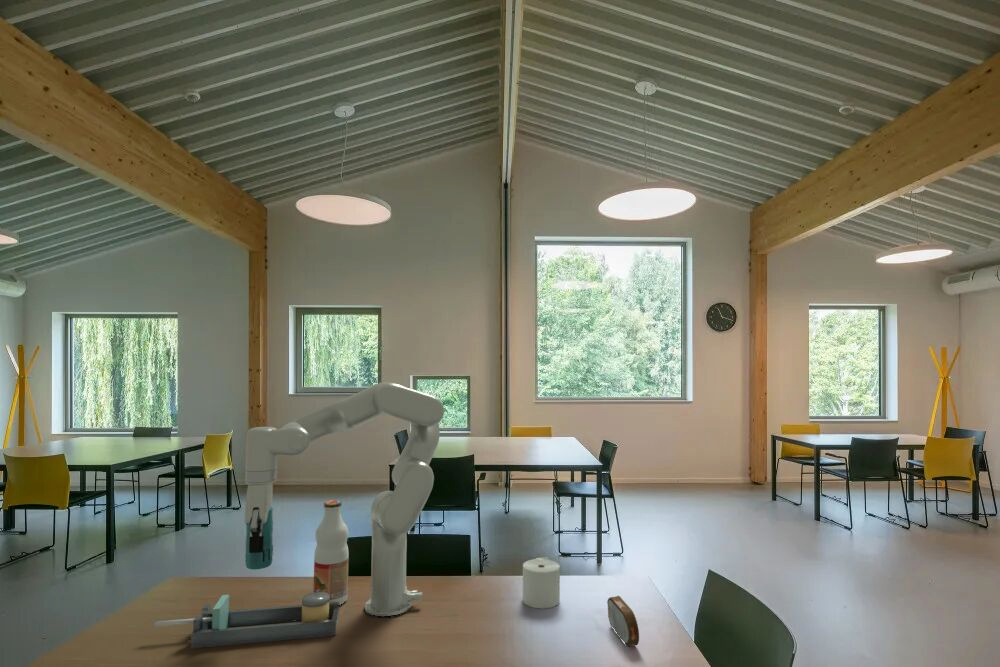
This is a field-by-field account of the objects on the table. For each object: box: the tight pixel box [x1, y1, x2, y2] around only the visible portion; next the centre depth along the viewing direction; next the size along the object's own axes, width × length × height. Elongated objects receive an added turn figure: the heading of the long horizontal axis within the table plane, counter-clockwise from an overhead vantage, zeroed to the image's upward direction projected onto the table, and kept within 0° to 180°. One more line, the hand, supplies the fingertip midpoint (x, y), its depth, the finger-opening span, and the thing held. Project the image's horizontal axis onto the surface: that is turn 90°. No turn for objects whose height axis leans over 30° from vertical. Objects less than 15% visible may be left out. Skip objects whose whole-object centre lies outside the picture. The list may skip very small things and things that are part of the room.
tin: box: [606, 595, 640, 647], centre depth 140 cm, size 15×3×8 cm, turn 9°
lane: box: [190, 602, 340, 649], centre depth 142 cm, size 33×11×6 cm, turn 102°
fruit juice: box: [312, 499, 349, 606], centre depth 160 cm, size 9×9×28 cm
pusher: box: [153, 594, 230, 629], centre depth 138 cm, size 16×8×8 cm, turn 102°
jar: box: [301, 592, 330, 622], centre depth 144 cm, size 7×7×8 cm
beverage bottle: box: [244, 505, 274, 570], centre depth 143 cm, size 6×7×20 cm
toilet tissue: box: [522, 556, 561, 609], centre depth 161 cm, size 11×12×10 cm
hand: (258, 547), depth 142 cm, fingers closed on beverage bottle, 5 cm apart
